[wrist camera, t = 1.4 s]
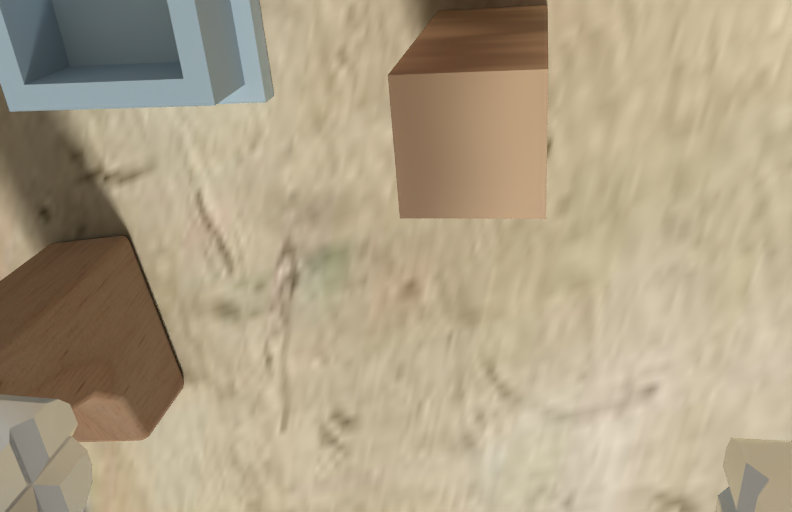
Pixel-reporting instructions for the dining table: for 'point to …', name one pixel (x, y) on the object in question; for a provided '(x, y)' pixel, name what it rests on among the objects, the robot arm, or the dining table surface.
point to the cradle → (132, 54)
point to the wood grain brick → (473, 115)
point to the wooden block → (88, 339)
